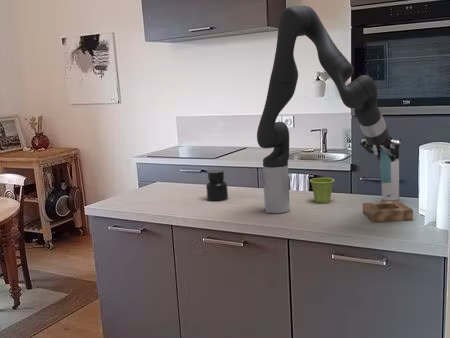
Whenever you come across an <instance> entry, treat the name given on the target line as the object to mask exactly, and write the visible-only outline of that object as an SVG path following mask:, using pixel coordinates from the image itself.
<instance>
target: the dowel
mask: <svg viewBox="0 0 450 338" xmlns="http://www.w3.org/2000/svg"><path fill="white" fill-rule="evenodd" d="M379 162H380V163H379V164H380V183H381V184H382V183H390V182H391V159H390V157H389V154H388V153H387V152H385V151H384V150H383V149H380V160H379Z"/></svg>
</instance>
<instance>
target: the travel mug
mask: <svg viewBox="0 0 450 338" xmlns="http://www.w3.org/2000/svg"><path fill="white" fill-rule="evenodd" d="M386 201H400V150H399V151H398V154H397V155H396V159H395V161H394V162H391V182H390V183H381V202H386Z"/></svg>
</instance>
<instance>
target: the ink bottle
mask: <svg viewBox="0 0 450 338" xmlns="http://www.w3.org/2000/svg"><path fill="white" fill-rule="evenodd" d="M207 178H208V179H207V180H208V182H207V183H206V188H205V189H206V198H207V200H208V201H210V200H212V202H218V201H219V200H221V201H224V200H227V199H229V193H228V183H227V182H226V181H225V172H224V170H221V169H216V170H209V171H207ZM219 202H220V201H219Z"/></svg>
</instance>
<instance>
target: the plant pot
mask: <svg viewBox="0 0 450 338" xmlns="http://www.w3.org/2000/svg"><path fill="white" fill-rule="evenodd" d="M309 182H310V183H311V187H312V192H313V198H314V203H322V204H325V203H326V204H327V203H329V202H331V199H332V190H333V185H334V182H335V179H334V178H331V177H315V178H311V179H310V180H309Z"/></svg>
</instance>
